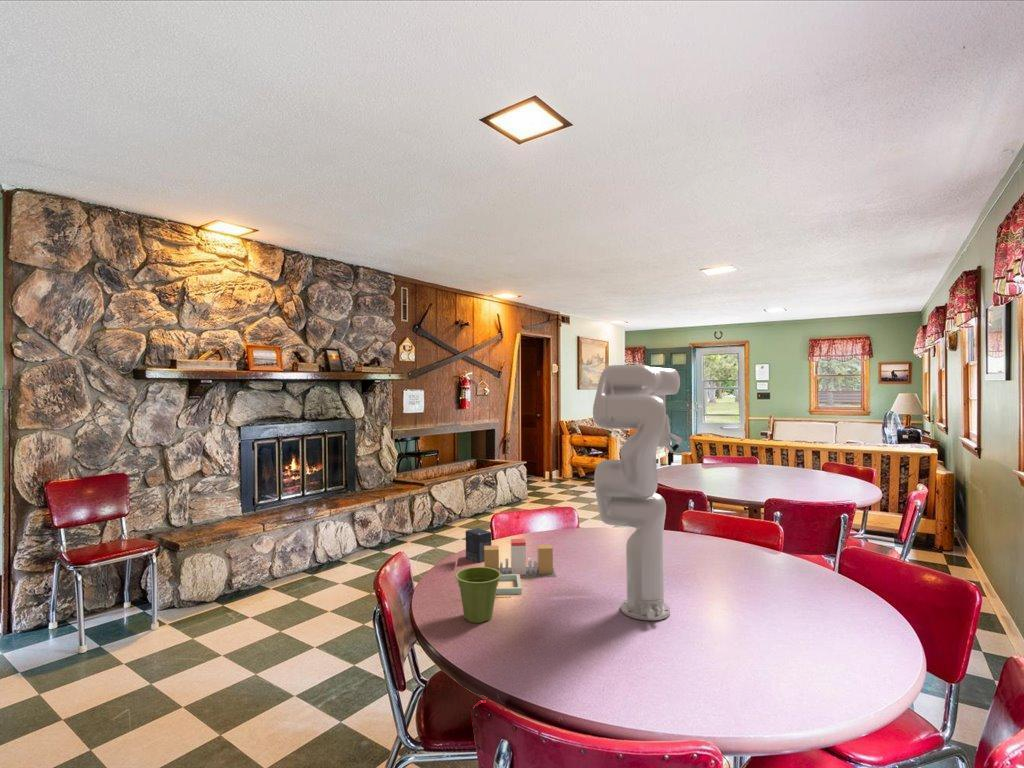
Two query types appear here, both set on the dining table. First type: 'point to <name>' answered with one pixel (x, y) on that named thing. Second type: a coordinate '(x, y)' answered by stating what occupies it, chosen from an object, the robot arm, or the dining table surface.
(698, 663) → the dining table surface
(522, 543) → the white block red top
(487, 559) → the fuse block
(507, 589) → the tray
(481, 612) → the plant pot
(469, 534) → the box
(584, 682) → the dining table surface
